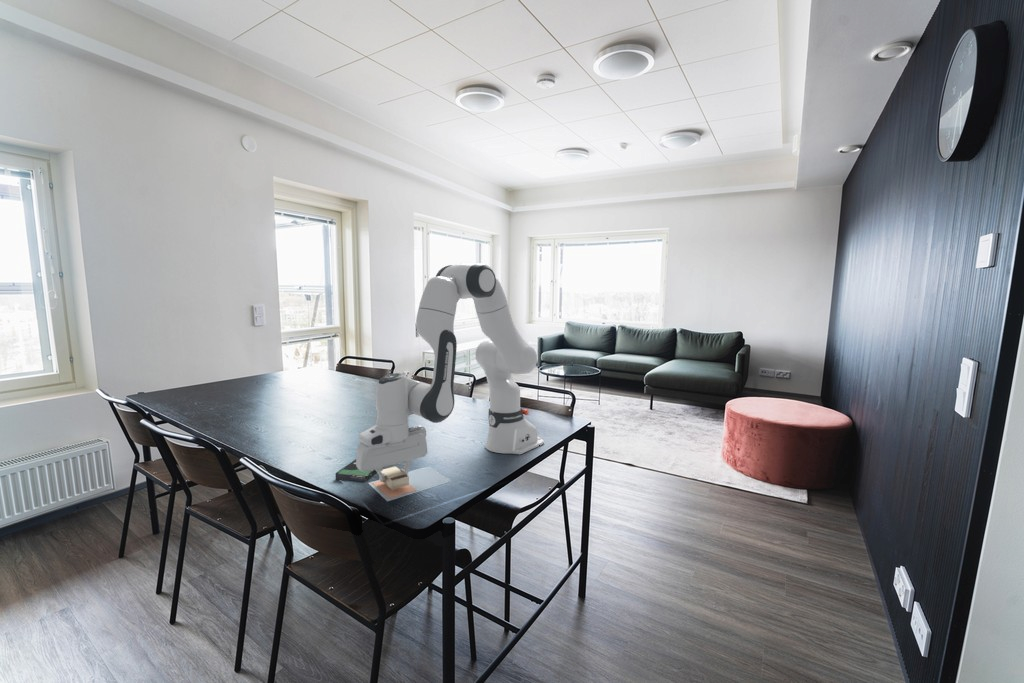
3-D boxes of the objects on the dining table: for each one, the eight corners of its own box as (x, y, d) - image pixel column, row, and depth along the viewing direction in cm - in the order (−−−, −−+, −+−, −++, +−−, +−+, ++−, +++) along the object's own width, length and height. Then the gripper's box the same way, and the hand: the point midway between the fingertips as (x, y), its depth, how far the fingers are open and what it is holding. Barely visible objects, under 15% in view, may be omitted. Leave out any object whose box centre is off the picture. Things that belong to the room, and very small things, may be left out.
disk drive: (361, 463, 143) (334, 481, 128) (360, 455, 142) (334, 472, 128) (389, 465, 141) (366, 485, 126) (389, 457, 140) (366, 475, 126)
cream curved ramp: (379, 478, 125) (379, 470, 124) (395, 474, 128) (395, 465, 128) (392, 489, 118) (392, 480, 117) (409, 484, 121) (408, 476, 121)
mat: (429, 467, 138) (429, 465, 138) (451, 483, 127) (451, 480, 127) (367, 484, 125) (367, 482, 125) (387, 503, 115) (387, 500, 114)
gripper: (420, 421, 130) (421, 465, 132) (353, 435, 117) (354, 483, 119) (431, 427, 125) (431, 472, 127) (361, 441, 112) (362, 492, 114)
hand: (393, 478), depth 123 cm, fingers closed on cream curved ramp, 5 cm apart
